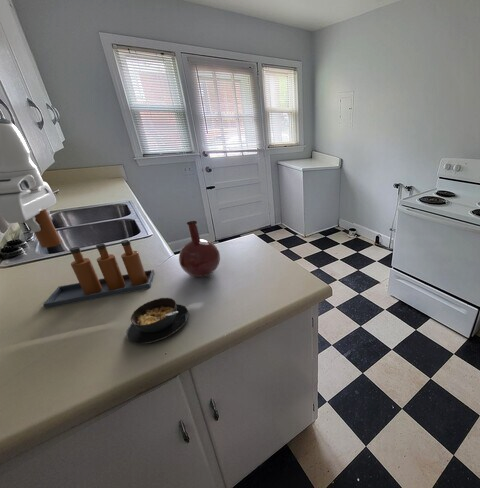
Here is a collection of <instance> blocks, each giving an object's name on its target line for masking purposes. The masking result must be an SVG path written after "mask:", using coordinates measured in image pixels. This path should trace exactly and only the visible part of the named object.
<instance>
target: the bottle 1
mask: <svg viewBox="0 0 480 488" xmlns="http://www.w3.org/2000/svg"><path fill="white" fill-rule="evenodd" d="M69 252H70V254H71V255H72V258H73V259H74V261H72V262H71V263H70V266H71V269H72V270H73V272H74V275H75V277H76V279H77V281H78V283H80V285H81V287H82V290H83V292H84V294H85V295H89V294H95V293H98V292H100V291H101V290H102V286H101V284H100V282H99V279H100V278H99V277H98V274H97V273H96V270H95V267H94V265H93V263H92V261H91V259H90V258H89V257H84V256H83V254H82V250H81V247H80V246H74V247H71V248H69Z"/></svg>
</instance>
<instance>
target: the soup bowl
mask: <svg viewBox="0 0 480 488" xmlns="http://www.w3.org/2000/svg"><path fill="white" fill-rule="evenodd" d="M189 317H190V311H189V309H188V307H186V306H185V305H182V304H179V303H177V302H176V300H175V299H173V298H171V297H160V298H156V299H152V300H149V301H148V302H146V303H143V304H142V305H140V306H139V307H137V309H135V310H134V311H133V312H132V314H131V316H130V321H131V323H130V324H129V326H128V328H127V329H126V339H127V340H128V341H129V342H131V343H133V344H139V345H144V344H153V343H156V342H159V341H161V340H164V339H166V338H168V337H170V336H172V335H173V334H175V333H177V332H178V331H179V330H180V329H181V328H182V327H183V326H184V325H185V323H186V322H187V321H188V320H189Z"/></svg>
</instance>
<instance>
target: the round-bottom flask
mask: <svg viewBox="0 0 480 488" xmlns="http://www.w3.org/2000/svg"><path fill="white" fill-rule="evenodd" d="M186 225H187V227H188V232H189V235H190V236H189V237H190V239H191V241H188V242H187V243H186V244H184V245H183V247H182V248H181V249H180V251H179V255H178V263H179V266H180V268H181V269H182V270H183V272H184V273H186V274H187V275H189V276H191V277H195V278H202V277H207V276H210V275H211V274H213V273H214V272H215V271H216V270H217V268H218V267H219V265H220V262H221V254H220V251H219V249H218V247H217V246H216V245H215V244H214V243H213V242H211V241H209V240H207V239H201V238H200V233H199V229H198V222H197V220H191V221H188V222H186Z"/></svg>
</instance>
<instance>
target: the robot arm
mask: <svg viewBox="0 0 480 488" xmlns="http://www.w3.org/2000/svg"><path fill="white" fill-rule="evenodd" d="M0 118H1V119H0V216H1V218H2V219H3V220H4V221H5V222H6V223H8V224H16V223H17V224H18V223H24V224H25V225H26V226H28V227H29V228H30V230H31V232H33V233H34V232H38V231H40V230H42V227H41V225H40V224H38V223H37V222H36V221H35V220H36V218H35V216H36V215H37V214H39V213H40V210H42V209H44V208H46V210H47V212H48V214H49V217H50V218H51V211H50V209H51V208H52V207H53V206H56V205H57V204H58V203H57V197H56V196H55V194H54V192H53V190H52V189H51V187H50V185H49V183H48V182H46V181H44V180H43V178H42V176H41V173H40V171H39V169H38V167H37V165H36V164H35V162H34V161H33V160H32V158H31V152H30V149H29V147H28V145H27V142H26V141H25V138H24V137H23V135H22V133H21V132H20V130H19V129H18V128H17V126H16V125H15V123H13V122H12V121H11V120H9V119H7V118H3V117H0Z"/></svg>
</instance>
